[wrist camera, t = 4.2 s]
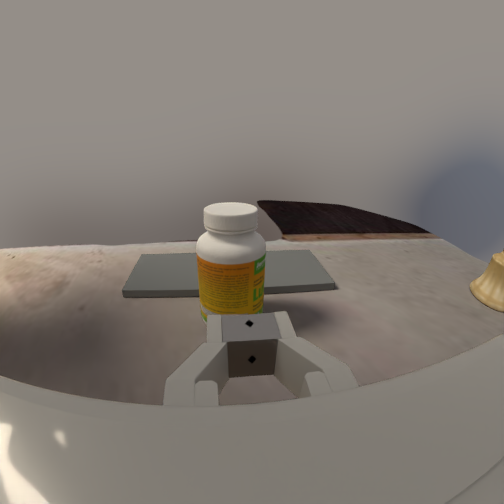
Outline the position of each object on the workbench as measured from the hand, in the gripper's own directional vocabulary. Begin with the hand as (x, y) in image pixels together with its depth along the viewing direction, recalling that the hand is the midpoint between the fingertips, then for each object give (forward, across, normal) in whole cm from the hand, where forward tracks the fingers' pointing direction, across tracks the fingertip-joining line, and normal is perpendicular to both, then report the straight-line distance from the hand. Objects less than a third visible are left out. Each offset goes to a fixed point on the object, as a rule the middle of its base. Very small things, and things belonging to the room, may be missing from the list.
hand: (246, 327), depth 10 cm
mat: (+20, 0, +8) cm, 21 cm away
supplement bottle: (+12, 0, +8) cm, 14 cm away
